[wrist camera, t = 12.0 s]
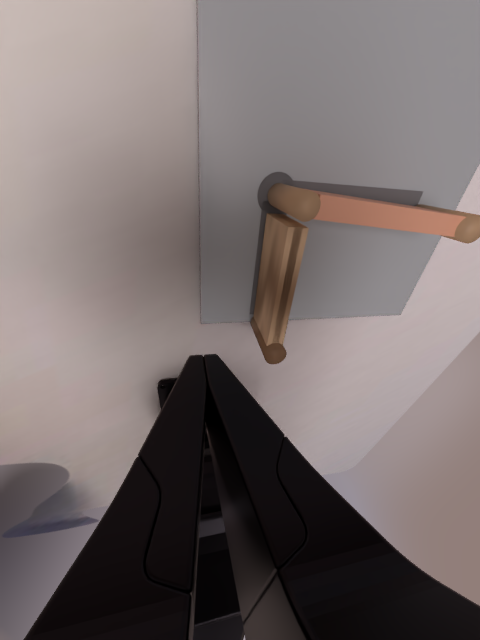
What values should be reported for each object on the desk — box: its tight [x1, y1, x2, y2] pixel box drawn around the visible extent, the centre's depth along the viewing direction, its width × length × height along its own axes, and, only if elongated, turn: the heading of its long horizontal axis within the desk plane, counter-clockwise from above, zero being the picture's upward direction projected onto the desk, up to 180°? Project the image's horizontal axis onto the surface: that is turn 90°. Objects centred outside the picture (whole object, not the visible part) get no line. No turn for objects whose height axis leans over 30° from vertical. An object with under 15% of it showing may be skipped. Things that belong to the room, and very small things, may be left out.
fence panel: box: [268, 183, 480, 243], centre depth 15 cm, size 13×2×4 cm, turn 82°
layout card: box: [197, 0, 480, 324], centre depth 17 cm, size 22×20×1 cm
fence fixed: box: [250, 213, 309, 364], centre depth 17 cm, size 10×2×4 cm, turn 175°
